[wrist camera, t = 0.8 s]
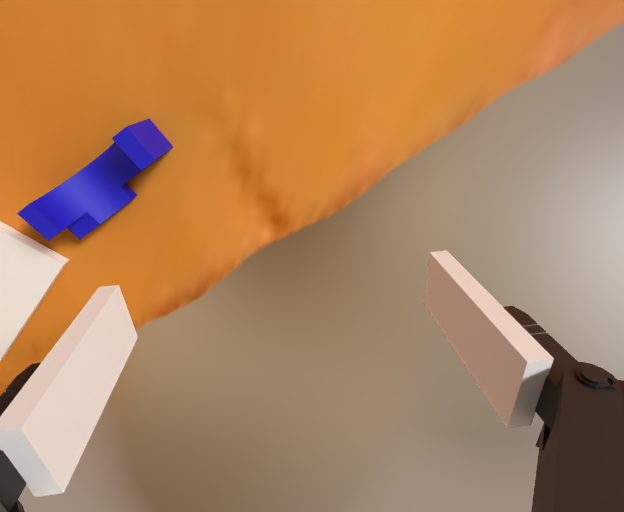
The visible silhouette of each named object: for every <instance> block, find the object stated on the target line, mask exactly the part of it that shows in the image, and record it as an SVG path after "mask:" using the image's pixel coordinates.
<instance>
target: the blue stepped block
mask: <svg viewBox="0 0 624 512" xmlns="http://www.w3.org/2000/svg"><path fill="white" fill-rule="evenodd" d="M112 139H113V140H114V141H115V142H114V143H113V145H111V146H110V147H109V148H108V149H107V150H106V151H105V152H104V153H103V154H101V155H100V156H99V157H98V158H96V159H95V160H94V161H93V162H91V163H90V164H89V165H87V166H86V167H85V168H83V169H82V170H81V171H79V172H78V173H77V174H75V175H74V176H72V177H71V178H69V179H68V180H67V181H65V182H64V183H62V184H61V185H59V186H58V187H56V188H55V189H53V190H52V191H50V192H48V193H47V194H45V195H44V196H42V197H40V198H39V199H37V200H35V201H33V202H32V203H30V204H29V205H27V206H26V207H25V208H24V209H22V210H21V211H20V212H18V213H17V214H18V215H19V216H21V217H22V218H23V219H24V220H25V221H26V222H28V223H29V224H30V225H31V226H32V227H33V228H34V229H36V230H37V231H38V232H39V233H40V234H41V235H43V236H44V237H45V238H46V239H47V240H48V241H49V240H50V239H52V238H53V237H54V236H56V235H57V234H58V233H60V232H61V231H63V230H64V229H65V228H68V229H69V230H70V231H71V232H72V233H73V234H74V235H75V236H77V237H78V238H79V239H81V238H83V237H84V236H85V235H87V234H88V233H89V232H91V231H92V230H93V229H95V228H96V227H97V226H99V225H100V224H101V223H103V222H104V221H105V220H106V219H108V218H109V217H110V216H111V215H113V214H114V213H115V212H117V211H118V210H119V209H121V208H122V207H123V206H125V205H126V204H127V203H128V202H130V201H131V200H132V199H134V198H135V197H136V196H137V194H136V193H135V192H134V191H133V190H132V189H131V188H130V187H129V186H128V185H127V184H126V182H127V181H129V180H130V179H131V178H133V177H134V176H135V175H137V174H138V173H139V172H141V171H142V170H143V169H145V168H146V167H147V166H149V165H150V164H151V163H153V162H154V161H155V160H156V159H158V158H159V157H160V156H162V155H163V154H164V153H166V152H167V151H168V150H170V149H171V148H172V147H173V146H172V145H171V144H170V143H169V141H168V140H167V139H166V138H165V137H164V135H163V134H162V133H161V132H160V131H159V129H158V128H157V127H156V126H155V125H154V123H153V122H152V121H151V120H150V119H147V120H144V121H141V122H139V123H136V124H133V125H130V126H127V127H126V128H124V129H123V130H122V131H120V132H119V133H118V134H117V135H115V136H114V137H113V138H112Z"/></svg>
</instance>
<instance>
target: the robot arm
mask: <svg viewBox="0 0 624 512" xmlns="http://www.w3.org/2000/svg"><path fill="white" fill-rule="evenodd" d="M424 305H425V306H426V308H427V309H428V311H429V312H430V314H431V315H432V317H433V318H434V320H435V321H436V323H437V324H438V326H439V327H440V329H441V330H442V332H443V333H444V334H445V336H446V338H447V339H448V341H449V342H450V344H451V345H452V347H453V348H454V350H455V351H456V353H457V354H458V355H459V357H460V359H461V360H462V362H463V363H464V365H465V366H466V367H467V369H468V371H469V372H470V373H471V375H472V377H473V378H474V379H475V381H476V382H477V384H478V385H479V387H480V388H481V390H482V391H483V393H484V394H485V396H486V397H487V399H488V400H489V402H490V403H491V405H492V406H493V408H494V409H495V411H496V412H497V414H498V415H499V417H500V418H501V420H502V421H503V423H504V424H505V426H506V427H507V428H515V427H521V426H528V425H531V423H532V421H533V418H534V415H535V412H537V414H538V415H539V416H540V417H541V419H542V420H543V421H544V425H543V427H542V430H541V433H540V435H539V438H538V441H537V444H536V446H537V447H539V456H538V463H537V471H536V480H535V488H534V496H533V505H532V512H624V381H621V380H617V379H616V378H614V376H613V375H612V374H610V373H609V372H607V371H606V370H604V369H602V368H600V367H597V366H595V365H593V364H589V363H583V362H578V361H577V360H575V359H574V358H573V357H572V356H571V355H570V354H569V353H568V352H567V351H566V350H565V349H564V348H563V347H562V346H561V345H560V344H559V343H557V342H556V341H555V340H554V339H553V338H552V337H551V336H550V335H549V334H546V331H545V330H544V329H543V328H541V327H540V326H539V325H537V323H536V322H535V321H534V320H533V319H532V318H531V317H530V316H529V315H528V314H526V313H524V312H523V311H521V310H519V309H517V308H515V307H513V306H508V307H502V306H501V305H500V304H499V303H498V302H497V301H496V300H495V299H494V298H493V297H492V296H491V295H490V294H489V293H488V292H487V291H486V290H485V289H484V288H483V287H482V286H481V285H480V284H479V283H478V282H477V281H476V280H475V279H474V278H473V277H472V276H471V275H470V274H469V273H468V272H467V271H466V270H465V269H464V268H463V267H462V266H461V265H460V263H459V262H457V260H456V259H455V258H454V257H453V256H452V255H451V254H450V253H448V251H437V252H430V253H429V263H428V272H427V282H426V290H425V299H424ZM137 338H138V337H137V334H136V331H135V328H134V326H133V323H132V320H131V317H130V315H129V312H128V309H127V306H126V304H125V301H124V298H123V296H122V293H121V290H120V287H119V285H114V286H104V287H99V288H98V289H97V291H96V292H95V293H94V295H93V296H92V297H91V298H90V300H89V301H88V302H87V304H86V305H85V306H84V308H83V309H82V310H81V312H80V313H79V314H78V316H77V317H76V318H75V319H74V321H73V322H72V323H71V325H70V326H69V327H68V329H67V330H66V331H65V333H64V334H63V335H62V336H61V338H60V339H59V340H58V342H57V343H56V344H55V346H54V347H53V348H52V350H51V351H50V352H49V353H48V355H47V356H46V357H45V359H44V360H43V361H42V363H36V364H32V365H31V366H29V367H28V368H27V369H25V370H24V371H23V372H22V373H20V374H19V375H18V376H16V378H15V379H14V380H13V381H12V383H11V384H10V385H9V386H8V388H7V389H6V392H4V393H3V394H2V395H1V396H0V512H24V509H23V506H22V504H21V503H20V502H19V501H18V498H19V496H20V494H21V493H22V491H23V489H24V487H25V485H27V487H28V488H29V490H30V491H31V492H32V494H33V495H34V496H35V497H39V496H46V495H53V494H59V493H64V491H65V489H66V487H67V485H68V482H69V481H70V478H71V476H72V474H73V472H74V470H75V468H76V466H77V463H78V462H79V460H80V457H81V455H82V453H83V451H84V449H85V447H86V445H87V443H88V441H89V439H90V437H91V434H92V432H93V430H94V428H95V426H96V424H97V422H98V420H99V418H100V416H101V413H102V411H103V409H104V407H105V405H106V403H107V401H108V399H109V397H110V394H111V392H112V390H113V388H114V386H115V384H116V382H117V380H118V378H119V376H120V373H121V371H122V369H123V367H124V365H125V363H126V361H127V359H128V357H129V355H130V353H131V350H132V348H133V346H134V344H135V342H136V340H137Z"/></svg>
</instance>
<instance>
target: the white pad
mask: <svg viewBox="0 0 624 512" xmlns="http://www.w3.org/2000/svg"><path fill="white" fill-rule="evenodd" d="M68 261H69V259H67V258H66V257H64V256H62V255H60V254H58V253H57V252H55V251H53V250H51V249H49V248H48V247H46V246H44V245H42V244H40V243H39V242H37V241H35V240H33V239H31V238H29V237H28V236H26V235H24V234H22V233H20V232H19V231H17V230H15V229H13V228H11V227H10V226H8V225H6V224H4V223H2V222H1V221H0V361H1V360H2V359H3V358H4V357H5V356H6V354H7V353H8V351H9V350H10V348H11V347H12V345H13V344H14V342H15V341H16V339H17V338H18V336H19V335H20V333H21V332H22V330H23V329H24V327H25V326H26V324H27V323H28V321H29V320H30V318H31V317H32V315H33V314H34V312H35V311H36V309H37V308H38V306H39V305H40V303H41V302H42V300H43V299H44V297H45V296H46V294H47V293H48V291H49V290H50V288H51V287H52V285H53V284H54V282H55V281H56V279H57V278H58V276H59V275H60V273H61V272H62V270H63V269H64V267H65V266H66V264H67V263H68Z"/></svg>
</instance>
